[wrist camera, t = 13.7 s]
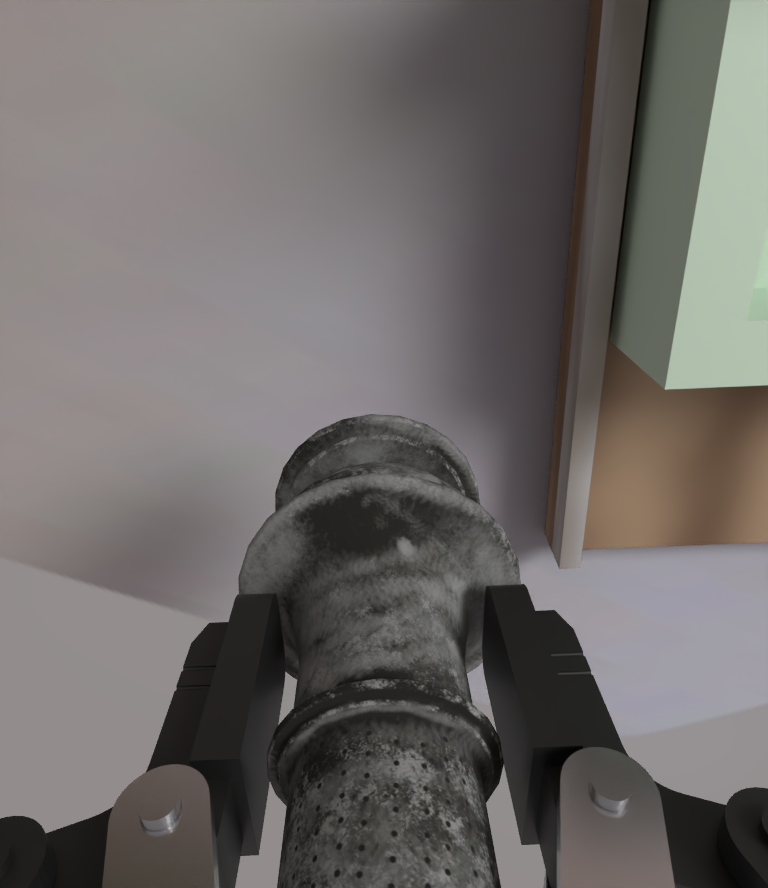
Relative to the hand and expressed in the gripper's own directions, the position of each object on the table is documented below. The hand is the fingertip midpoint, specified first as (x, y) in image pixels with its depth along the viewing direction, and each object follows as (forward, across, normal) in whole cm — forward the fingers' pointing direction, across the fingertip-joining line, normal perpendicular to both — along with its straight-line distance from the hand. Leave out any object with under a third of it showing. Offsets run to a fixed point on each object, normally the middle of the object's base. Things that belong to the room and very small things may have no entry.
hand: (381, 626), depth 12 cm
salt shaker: (+5, 0, 0) cm, 5 cm away
